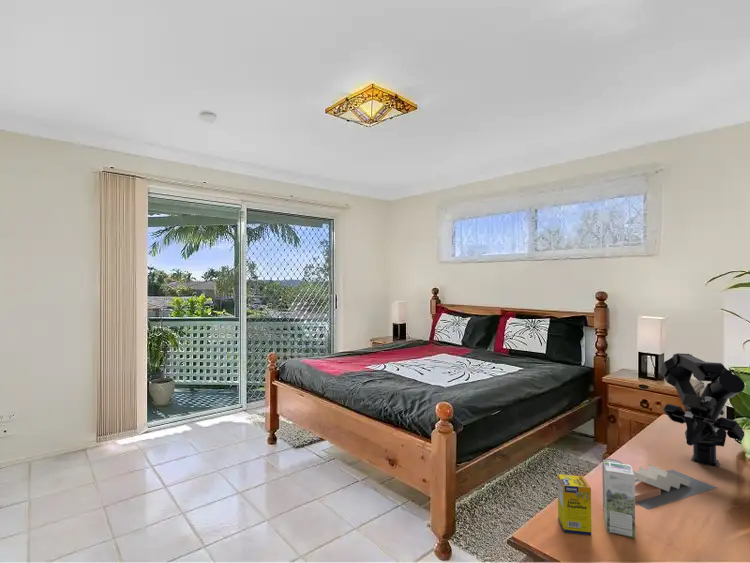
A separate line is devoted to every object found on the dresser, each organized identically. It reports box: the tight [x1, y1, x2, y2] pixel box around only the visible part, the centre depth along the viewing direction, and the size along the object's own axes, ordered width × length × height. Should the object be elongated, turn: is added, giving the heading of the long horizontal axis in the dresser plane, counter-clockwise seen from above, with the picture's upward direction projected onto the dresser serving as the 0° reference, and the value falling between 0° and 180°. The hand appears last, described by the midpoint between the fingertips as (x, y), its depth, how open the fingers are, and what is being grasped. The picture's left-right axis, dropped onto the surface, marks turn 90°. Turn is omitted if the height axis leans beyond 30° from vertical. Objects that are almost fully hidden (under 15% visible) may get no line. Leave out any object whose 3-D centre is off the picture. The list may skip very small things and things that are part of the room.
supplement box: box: [557, 473, 592, 536], centre depth 96 cm, size 6×6×11 cm
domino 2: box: [637, 466, 680, 489], centre depth 113 cm, size 2×5×10 cm
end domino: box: [635, 481, 661, 502], centre depth 110 cm, size 2×5×10 cm
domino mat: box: [635, 469, 718, 510], centre depth 113 cm, size 28×12×1 cm, turn 112°
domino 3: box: [647, 464, 690, 486], centre depth 114 cm, size 2×5×10 cm
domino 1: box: [633, 470, 671, 492], centre depth 111 cm, size 2×5×10 cm
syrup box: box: [603, 461, 636, 539], centre depth 95 cm, size 6×6×14 cm
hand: (688, 444), depth 118 cm, fingers closed
